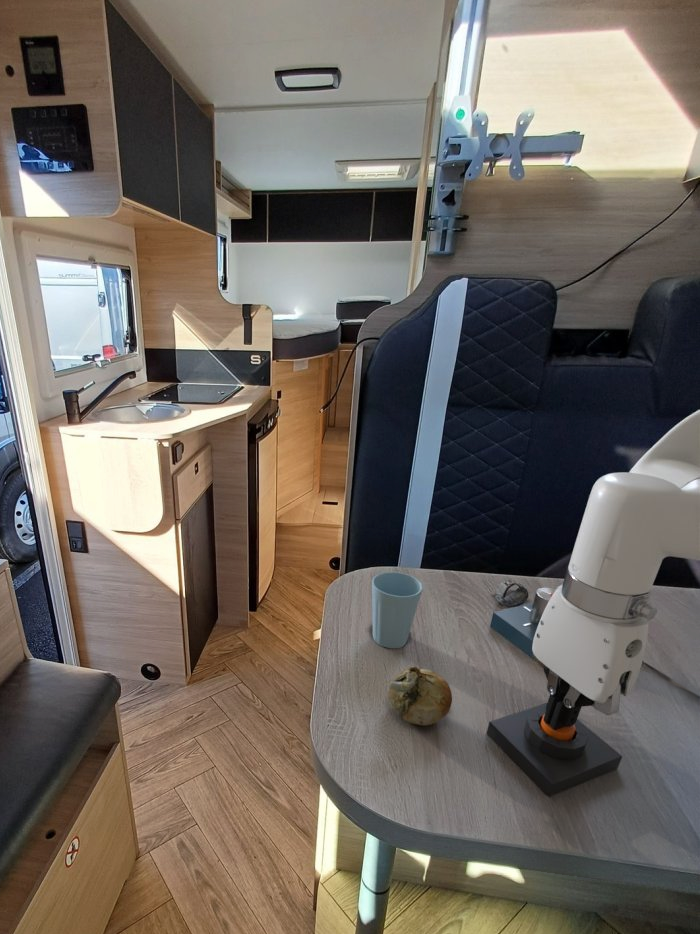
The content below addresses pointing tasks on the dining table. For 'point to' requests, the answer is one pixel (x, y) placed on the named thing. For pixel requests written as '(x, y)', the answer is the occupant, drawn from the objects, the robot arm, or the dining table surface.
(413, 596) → the cup
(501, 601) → the wristwatch
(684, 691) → the dining table surface
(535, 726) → the button base
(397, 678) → the onion
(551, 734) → the button
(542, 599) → the temp dial
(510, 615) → the dial panel
